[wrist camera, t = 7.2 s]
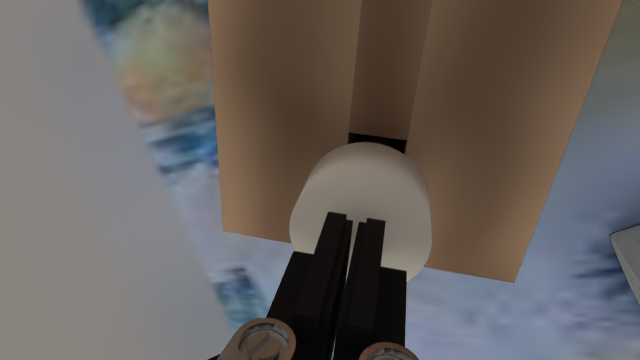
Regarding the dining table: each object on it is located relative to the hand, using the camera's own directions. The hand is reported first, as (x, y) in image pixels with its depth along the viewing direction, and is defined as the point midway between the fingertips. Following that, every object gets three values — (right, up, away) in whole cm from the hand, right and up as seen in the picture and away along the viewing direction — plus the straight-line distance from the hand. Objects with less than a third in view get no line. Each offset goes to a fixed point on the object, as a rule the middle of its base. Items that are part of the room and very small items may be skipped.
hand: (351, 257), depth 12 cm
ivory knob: (+2, +3, +6) cm, 7 cm away
